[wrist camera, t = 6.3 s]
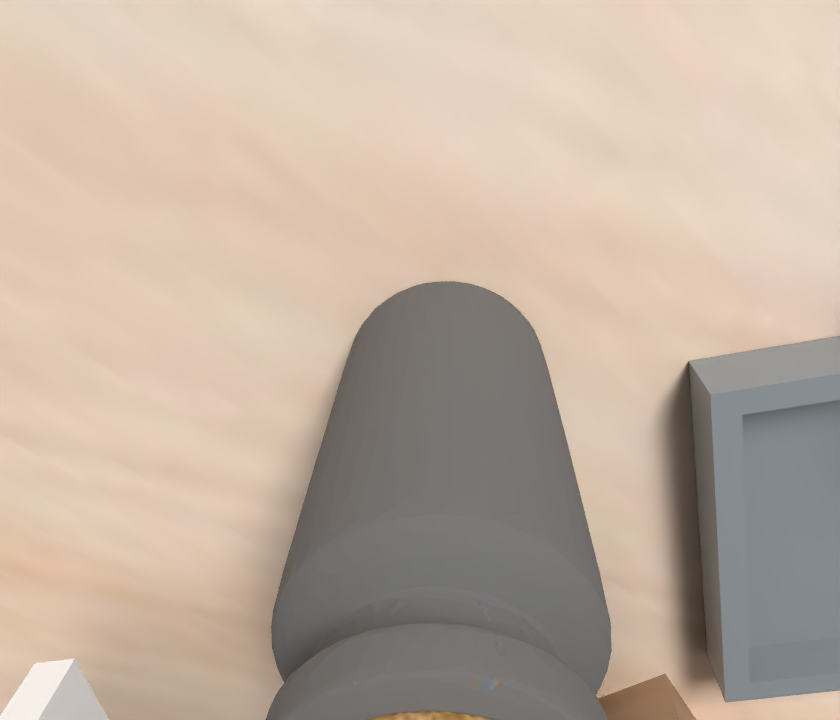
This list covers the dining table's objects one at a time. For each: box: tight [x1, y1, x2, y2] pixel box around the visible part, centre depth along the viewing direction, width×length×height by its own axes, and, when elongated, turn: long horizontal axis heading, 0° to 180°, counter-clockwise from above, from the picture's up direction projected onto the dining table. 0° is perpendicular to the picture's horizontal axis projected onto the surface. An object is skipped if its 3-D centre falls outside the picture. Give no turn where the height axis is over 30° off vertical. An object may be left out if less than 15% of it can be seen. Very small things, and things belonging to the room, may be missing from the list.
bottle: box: [266, 282, 611, 720], centre depth 15 cm, size 6×6×15 cm
